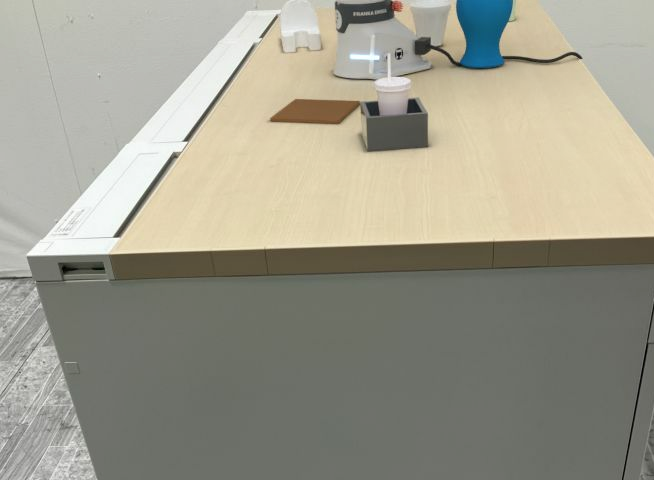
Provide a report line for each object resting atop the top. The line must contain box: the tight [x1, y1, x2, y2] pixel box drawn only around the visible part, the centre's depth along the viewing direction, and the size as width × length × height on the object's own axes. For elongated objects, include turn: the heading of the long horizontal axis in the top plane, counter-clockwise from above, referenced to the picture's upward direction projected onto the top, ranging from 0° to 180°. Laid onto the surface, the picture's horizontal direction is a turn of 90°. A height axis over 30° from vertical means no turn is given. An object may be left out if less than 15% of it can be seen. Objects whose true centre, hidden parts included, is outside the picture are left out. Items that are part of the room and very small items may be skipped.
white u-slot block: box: [279, 0, 322, 53], centre depth 212 cm, size 10×18×10 cm, turn 6°
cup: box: [409, 0, 452, 48], centre depth 203 cm, size 10×10×9 cm
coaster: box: [270, 98, 361, 125], centre depth 164 cm, size 14×14×1 cm
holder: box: [359, 96, 429, 152], centre depth 146 cm, size 11×11×6 cm
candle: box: [508, 0, 517, 22], centre depth 224 cm, size 5×5×8 cm
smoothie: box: [373, 53, 412, 116], centre depth 143 cm, size 6×6×14 cm
